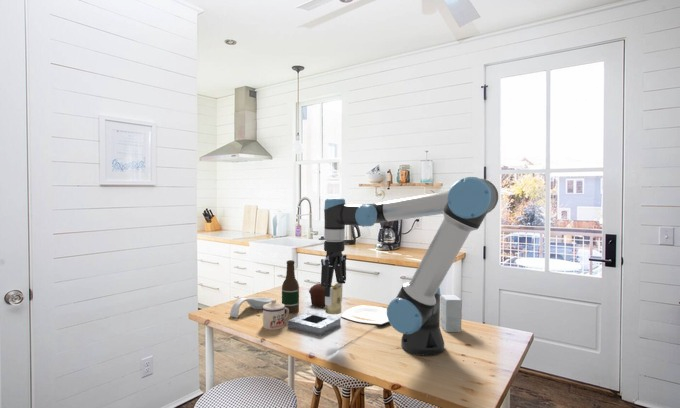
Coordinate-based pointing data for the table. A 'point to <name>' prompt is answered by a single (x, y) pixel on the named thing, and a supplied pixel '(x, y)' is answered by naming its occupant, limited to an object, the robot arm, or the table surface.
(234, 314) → the spoon rest
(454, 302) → the small box
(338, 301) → the yellow can
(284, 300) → the beer bottle
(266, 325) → the teacup with lid
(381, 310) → the plate
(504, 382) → the table surface
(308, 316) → the frame
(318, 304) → the muffin
